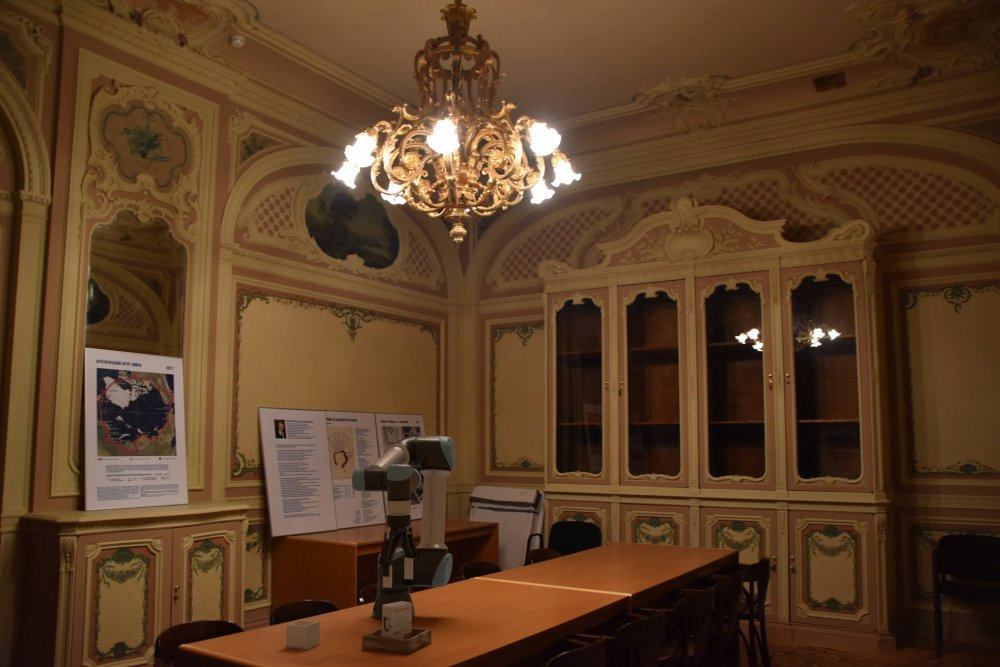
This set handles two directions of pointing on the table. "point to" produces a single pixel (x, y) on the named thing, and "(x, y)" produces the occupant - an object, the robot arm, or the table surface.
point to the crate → (396, 642)
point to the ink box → (397, 620)
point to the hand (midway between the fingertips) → (398, 583)
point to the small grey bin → (302, 634)
